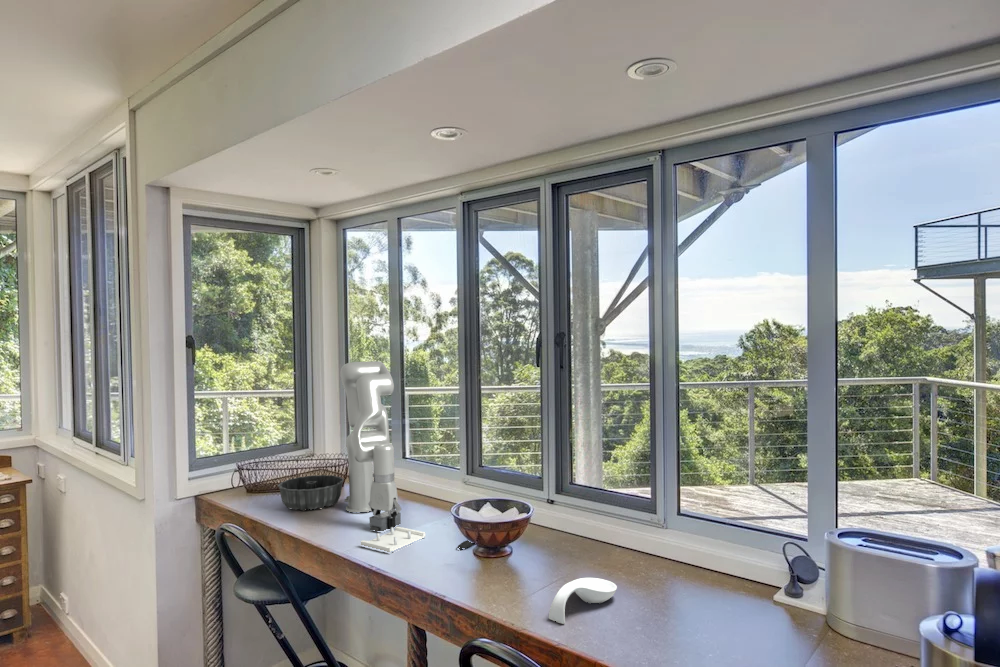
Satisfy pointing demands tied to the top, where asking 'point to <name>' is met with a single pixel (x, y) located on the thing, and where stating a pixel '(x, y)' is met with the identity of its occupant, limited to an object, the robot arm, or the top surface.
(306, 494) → the bundt pan
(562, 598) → the spoon rest
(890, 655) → the top surface
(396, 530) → the tray
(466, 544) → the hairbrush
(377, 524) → the block
